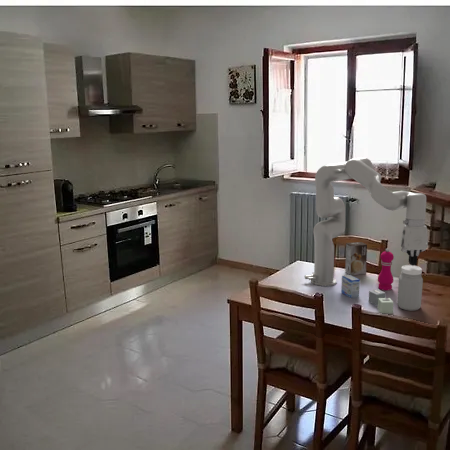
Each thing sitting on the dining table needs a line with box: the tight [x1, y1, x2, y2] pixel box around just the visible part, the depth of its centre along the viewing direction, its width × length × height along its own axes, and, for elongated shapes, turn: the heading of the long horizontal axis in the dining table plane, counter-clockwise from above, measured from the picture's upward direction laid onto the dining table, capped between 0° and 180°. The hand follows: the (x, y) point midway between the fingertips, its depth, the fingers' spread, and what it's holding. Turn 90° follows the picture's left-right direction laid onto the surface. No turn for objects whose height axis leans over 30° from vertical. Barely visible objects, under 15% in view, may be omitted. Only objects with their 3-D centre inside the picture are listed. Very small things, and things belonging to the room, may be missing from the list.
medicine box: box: [340, 274, 361, 299], centre depth 232 cm, size 8×4×9 cm, turn 23°
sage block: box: [377, 297, 395, 314], centre depth 213 cm, size 5×5×5 cm
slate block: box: [368, 288, 387, 306], centre depth 223 cm, size 5×5×5 cm
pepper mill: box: [377, 248, 395, 291], centre depth 239 cm, size 7×7×20 cm
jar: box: [396, 264, 424, 312], centre depth 215 cm, size 10×10×18 cm
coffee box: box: [345, 241, 368, 276], centre depth 262 cm, size 9×6×16 cm
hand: (412, 264), depth 213 cm, fingers closed
